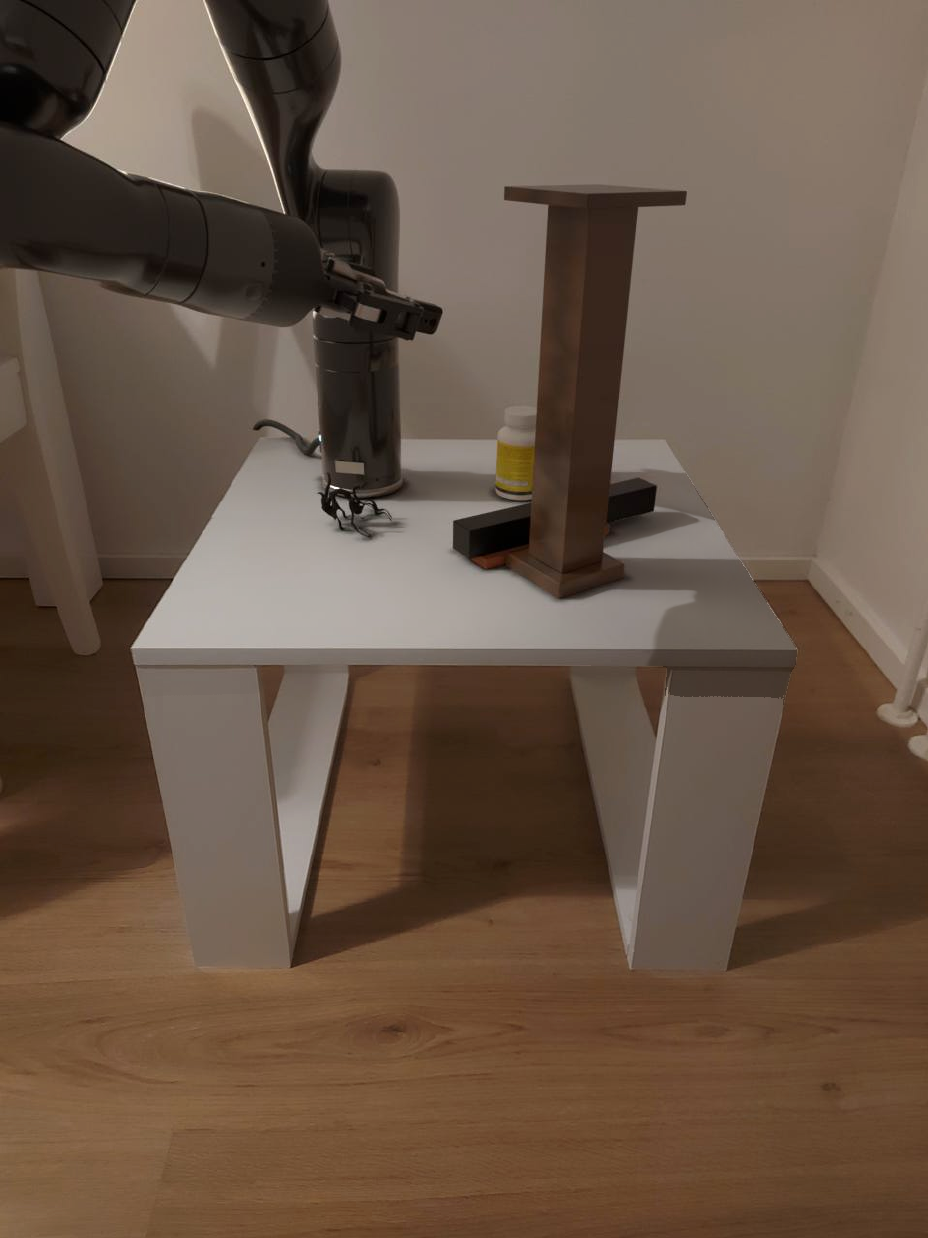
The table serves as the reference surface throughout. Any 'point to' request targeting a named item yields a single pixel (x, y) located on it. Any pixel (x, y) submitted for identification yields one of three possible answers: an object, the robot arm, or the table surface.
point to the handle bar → (514, 522)
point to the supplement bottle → (516, 454)
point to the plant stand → (579, 377)
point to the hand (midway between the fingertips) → (402, 300)
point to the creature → (353, 504)
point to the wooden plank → (504, 555)
